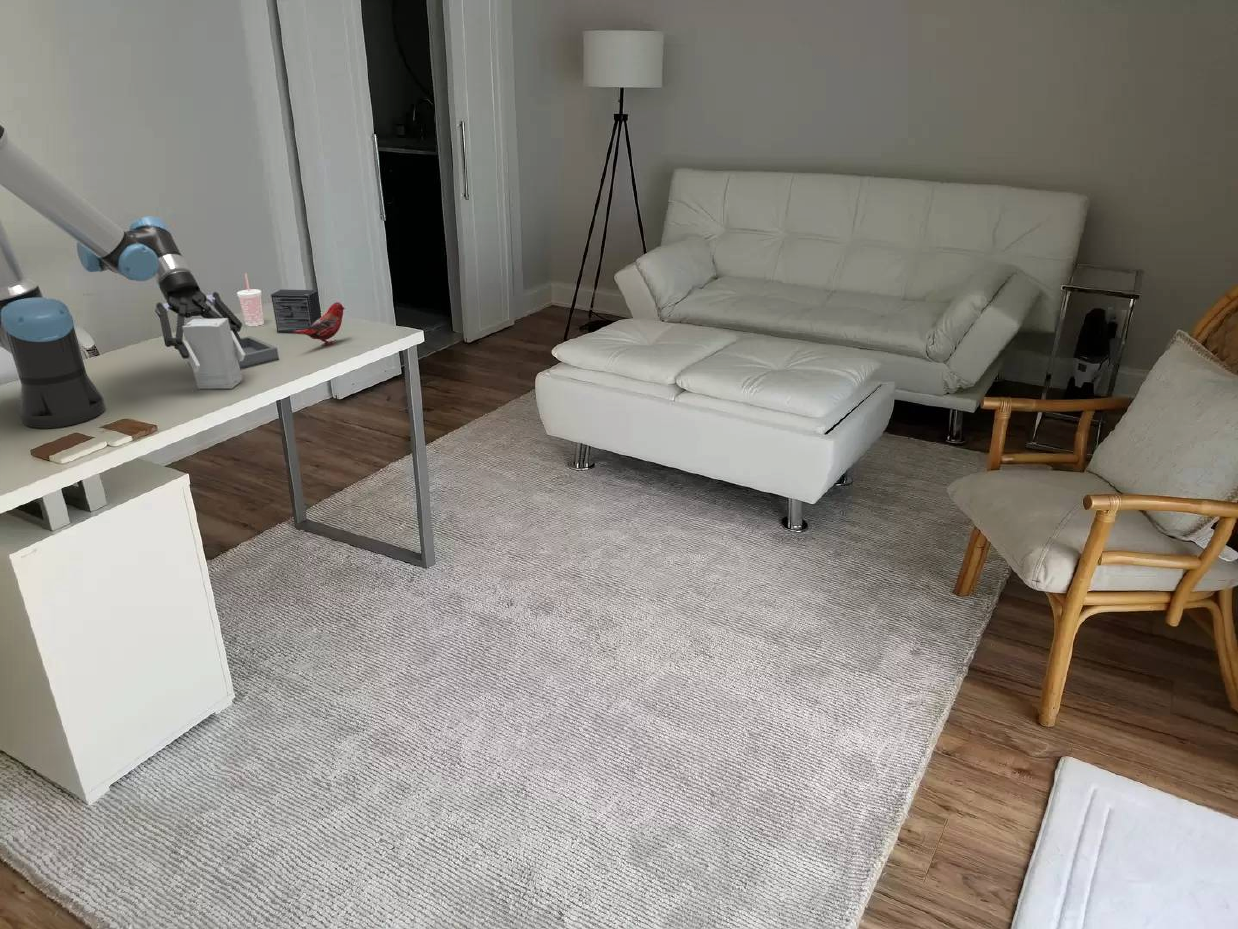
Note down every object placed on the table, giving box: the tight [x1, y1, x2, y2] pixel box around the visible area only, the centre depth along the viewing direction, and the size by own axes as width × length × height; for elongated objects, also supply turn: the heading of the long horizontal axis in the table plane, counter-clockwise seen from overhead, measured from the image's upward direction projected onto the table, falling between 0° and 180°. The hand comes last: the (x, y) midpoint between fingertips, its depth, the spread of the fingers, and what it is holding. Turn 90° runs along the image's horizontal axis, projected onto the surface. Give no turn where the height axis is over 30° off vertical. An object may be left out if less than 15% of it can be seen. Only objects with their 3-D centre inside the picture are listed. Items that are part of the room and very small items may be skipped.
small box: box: [270, 289, 322, 334], centre depth 238 cm, size 11×6×10 cm, turn 84°
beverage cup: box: [236, 272, 265, 327], centre depth 242 cm, size 6×6×14 cm
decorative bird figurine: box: [291, 301, 346, 347], centre depth 225 cm, size 3×18×10 cm, turn 150°
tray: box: [237, 335, 280, 370], centre depth 217 cm, size 16×14×3 cm
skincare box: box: [182, 318, 243, 390], centre depth 199 cm, size 8×6×15 cm
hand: (220, 363), depth 198 cm, fingers closed on skincare box, 9 cm apart
